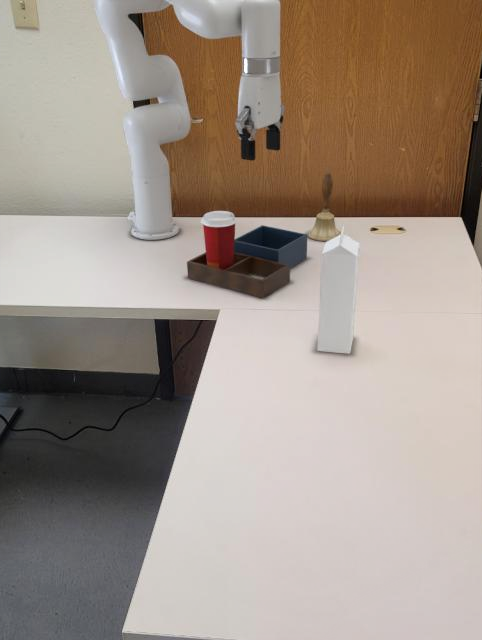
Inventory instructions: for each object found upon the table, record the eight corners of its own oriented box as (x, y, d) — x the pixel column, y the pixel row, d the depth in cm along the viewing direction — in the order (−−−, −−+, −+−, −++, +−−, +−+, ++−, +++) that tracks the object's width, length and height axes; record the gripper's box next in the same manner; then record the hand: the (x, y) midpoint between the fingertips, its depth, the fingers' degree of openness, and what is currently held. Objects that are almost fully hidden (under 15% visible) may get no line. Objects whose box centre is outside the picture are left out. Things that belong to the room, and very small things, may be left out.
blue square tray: (232, 265, 169) (231, 240, 166) (262, 248, 178) (262, 225, 175) (278, 276, 163) (278, 250, 160) (306, 258, 171) (307, 234, 168)
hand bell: (342, 231, 187) (345, 169, 179) (339, 242, 180) (342, 178, 172) (310, 229, 189) (312, 168, 181) (306, 240, 182) (308, 177, 174)
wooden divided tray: (187, 278, 163) (186, 261, 161) (215, 263, 170) (215, 247, 168) (263, 298, 152) (263, 281, 150) (289, 281, 160) (290, 264, 158)
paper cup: (238, 269, 167) (237, 210, 160) (236, 282, 160) (234, 221, 153) (205, 268, 168) (202, 209, 160) (201, 281, 161) (198, 221, 154)
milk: (317, 351, 132) (321, 236, 121) (321, 336, 137) (325, 224, 126) (350, 354, 131) (358, 237, 119) (353, 339, 136) (361, 225, 124)
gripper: (267, 60, 151) (267, 144, 160) (220, 71, 139) (222, 161, 148) (299, 62, 147) (296, 148, 156) (253, 73, 135) (253, 166, 144)
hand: (260, 154), depth 152 cm, fingers open, 9 cm apart
